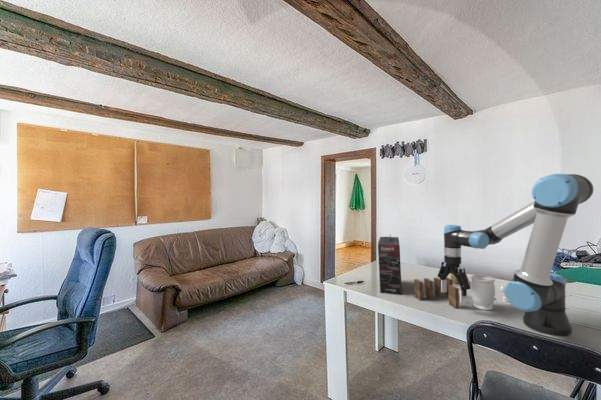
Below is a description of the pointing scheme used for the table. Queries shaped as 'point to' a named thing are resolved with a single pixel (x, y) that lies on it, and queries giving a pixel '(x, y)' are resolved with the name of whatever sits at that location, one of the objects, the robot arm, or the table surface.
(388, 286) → the headset box
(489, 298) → the jar
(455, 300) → the domino
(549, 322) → the robot arm
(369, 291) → the table surface
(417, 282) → the domino
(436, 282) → the domino
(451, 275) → the yellow lumpy round lump
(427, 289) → the domino
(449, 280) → the domino
